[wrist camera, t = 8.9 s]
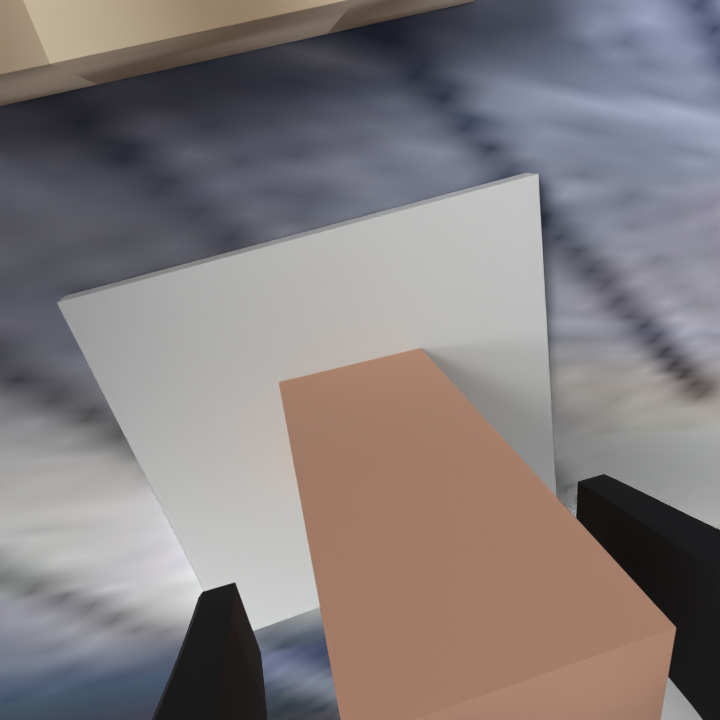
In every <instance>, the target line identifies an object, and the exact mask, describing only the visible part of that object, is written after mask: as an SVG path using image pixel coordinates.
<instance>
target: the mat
mask: <svg viewBox="0 0 720 720" xmlns="http://www.w3.org/2000/svg"><path fill="white" fill-rule="evenodd" d="M57 304H58V306H59V308H60V310H61V312H62V314H63V316H64V318H65V320H66V322H67V324H68V326H69V327H70V329H71V331H72V333H73V335H74V337H75V339H76V341H77V343H78V345H79V347H80V349H81V351H82V353H83V355H84V357H85V359H86V361H87V363H88V365H89V367H90V369H91V371H92V373H93V375H94V376H95V378H96V380H97V382H98V384H99V386H100V388H101V390H102V392H103V394H104V396H105V398H106V400H107V402H108V404H109V406H110V408H111V410H112V412H113V414H114V416H115V418H116V420H117V422H118V424H119V425H120V427H121V429H122V431H123V433H124V435H125V437H126V439H127V441H128V443H129V445H130V447H131V449H132V451H133V453H134V455H135V457H136V459H137V461H138V463H139V465H140V467H141V469H142V471H143V472H144V474H145V476H146V478H147V480H148V482H149V484H150V486H151V488H152V490H153V492H154V494H155V496H156V498H157V500H158V502H159V504H160V506H161V508H162V510H163V512H164V514H165V516H166V518H167V520H168V521H169V523H170V525H171V527H172V529H173V531H174V533H175V535H176V537H177V539H178V541H179V543H180V545H181V547H182V549H183V551H184V553H185V555H186V557H187V559H188V561H189V563H190V565H191V567H192V569H193V570H194V572H195V574H196V576H197V578H198V580H199V582H200V584H201V586H202V588H203V590H204V591H207V590H210V589H214V588H217V587H220V586H224V585H227V584H231V583H234V582H235V583H236V586H237V588H238V591H239V594H240V597H241V599H242V602H243V605H244V608H245V610H246V613H247V616H248V619H249V622H250V624H251V627H252V630H253V631H254V630H257V629H260V628H263V627H266V626H268V625H271V624H274V623H277V622H280V621H282V620H285V619H288V618H291V617H294V616H296V615H299V614H302V613H305V612H308V611H310V610H313V609H316V608H319V607H320V604H319V599H318V593H317V588H316V582H315V577H314V572H313V566H312V561H311V555H310V550H309V544H308V539H307V534H306V528H305V523H304V517H303V512H302V506H301V501H300V495H299V490H298V485H297V479H296V474H295V468H294V463H293V457H292V452H291V447H290V441H289V436H288V430H287V425H286V419H285V414H284V408H283V403H282V398H281V392H280V387H279V382H281V381H285V380H289V379H293V378H298V377H302V376H306V375H310V374H314V373H318V372H323V371H327V370H331V369H335V368H339V367H343V366H347V365H352V364H356V363H360V362H364V361H368V360H372V359H376V358H381V357H385V356H389V355H393V354H397V353H401V352H406V351H410V350H414V349H418V348H421V349H422V350H423V351H424V352H425V353H426V355H427V356H428V357H429V358H430V359H431V360H432V361H433V362H434V363H435V364H436V365H437V367H438V368H439V369H440V370H441V371H442V372H443V373H444V374H445V375H446V376H447V377H448V379H449V380H450V381H451V382H452V383H453V384H454V385H455V386H456V387H457V388H458V390H459V391H460V392H461V393H462V394H463V395H464V396H465V397H466V398H467V399H468V400H469V402H470V403H471V404H472V405H473V406H474V407H475V408H476V409H477V410H478V411H479V412H480V414H481V415H482V416H483V417H484V418H485V419H486V420H487V421H488V422H489V423H490V424H491V426H492V427H493V428H494V429H495V430H496V431H497V432H498V433H499V434H500V435H501V437H502V438H503V439H504V440H505V441H506V442H507V443H508V444H509V445H510V446H511V447H512V449H513V450H514V451H515V452H516V453H517V454H518V455H519V456H520V457H521V458H522V459H523V461H524V462H525V463H526V464H527V465H528V466H529V467H530V468H531V469H532V470H533V472H534V473H535V474H536V475H537V476H538V477H539V478H540V479H541V480H542V481H543V482H544V484H545V485H546V486H547V487H548V488H549V489H550V490H551V491H552V492H553V493H554V494H555V496H556V497H557V495H556V478H555V460H554V442H553V425H552V407H551V390H550V372H549V354H548V337H547V319H546V302H545V284H544V266H543V249H542V231H541V214H540V196H539V178H538V174H533V173H523V174H520V175H516V176H512V177H508V178H505V179H501V180H497V181H493V182H490V183H486V184H482V185H478V186H475V187H471V188H467V189H463V190H460V191H456V192H452V193H448V194H445V195H441V196H437V197H433V198H430V199H426V200H422V201H418V202H415V203H411V204H407V205H403V206H400V207H396V208H392V209H388V210H385V211H381V212H377V213H373V214H369V215H366V216H362V217H358V218H354V219H351V220H347V221H343V222H339V223H336V224H332V225H328V226H324V227H321V228H317V229H313V230H309V231H306V232H302V233H298V234H294V235H291V236H287V237H283V238H279V239H276V240H272V241H268V242H264V243H261V244H257V245H253V246H249V247H246V248H242V249H238V250H234V251H231V252H227V253H223V254H219V255H216V256H212V257H208V258H204V259H201V260H197V261H193V262H189V263H186V264H182V265H178V266H174V267H171V268H167V269H163V270H159V271H156V272H152V273H148V274H144V275H141V276H137V277H133V278H129V279H126V280H122V281H118V282H114V283H111V284H107V285H103V286H99V287H96V288H92V289H88V290H84V291H81V292H77V293H73V294H69V295H66V296H64V297H63V298H62V299H61V300H59V301H58V302H57Z"/></svg>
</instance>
